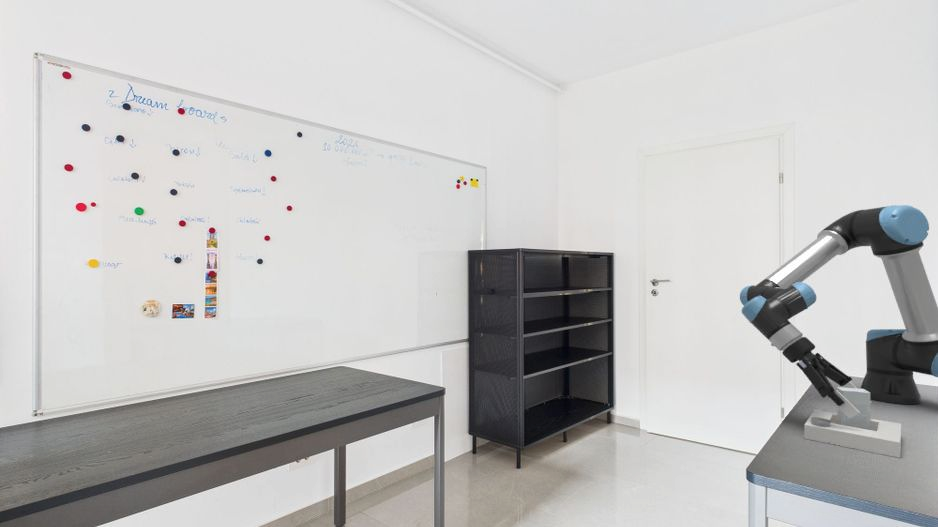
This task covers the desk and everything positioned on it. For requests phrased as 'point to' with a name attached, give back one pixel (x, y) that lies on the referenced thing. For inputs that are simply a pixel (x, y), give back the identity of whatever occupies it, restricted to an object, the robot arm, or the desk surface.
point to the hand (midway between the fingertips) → (861, 410)
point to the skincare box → (861, 403)
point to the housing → (854, 434)
